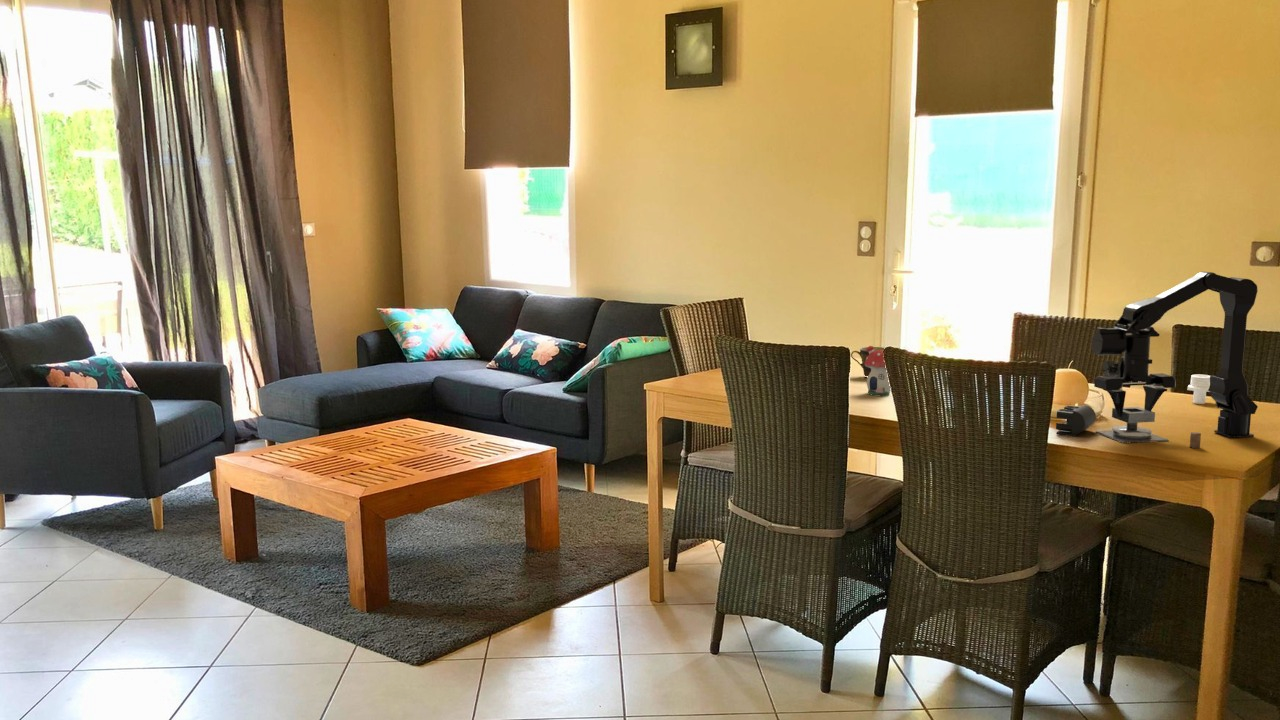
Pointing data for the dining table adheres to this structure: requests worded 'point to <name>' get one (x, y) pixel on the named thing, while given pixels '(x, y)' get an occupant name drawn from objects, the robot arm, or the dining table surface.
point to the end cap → (1075, 420)
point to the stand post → (1195, 440)
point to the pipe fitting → (1199, 387)
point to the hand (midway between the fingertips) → (1133, 415)
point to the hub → (1131, 434)
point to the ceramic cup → (864, 355)
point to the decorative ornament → (877, 373)
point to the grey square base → (1134, 415)
